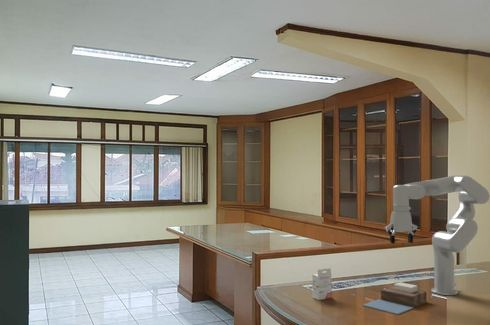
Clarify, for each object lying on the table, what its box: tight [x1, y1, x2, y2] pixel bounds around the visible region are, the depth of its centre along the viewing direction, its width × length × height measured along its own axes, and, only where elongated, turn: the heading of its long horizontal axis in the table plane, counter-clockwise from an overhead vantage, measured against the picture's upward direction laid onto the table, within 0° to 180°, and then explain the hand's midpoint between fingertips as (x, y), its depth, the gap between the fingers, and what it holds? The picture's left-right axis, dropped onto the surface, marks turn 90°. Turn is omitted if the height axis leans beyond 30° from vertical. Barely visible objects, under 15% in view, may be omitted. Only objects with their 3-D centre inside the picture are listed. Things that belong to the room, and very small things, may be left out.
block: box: [393, 281, 418, 293], centre depth 215 cm, size 6×9×2 cm, turn 42°
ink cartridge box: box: [311, 267, 333, 301], centre depth 219 cm, size 9×5×15 cm, turn 117°
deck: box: [380, 285, 427, 308], centre depth 213 cm, size 14×16×5 cm
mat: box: [362, 298, 415, 316], centre depth 203 cm, size 14×18×1 cm
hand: (401, 243), depth 223 cm, fingers open, 9 cm apart
